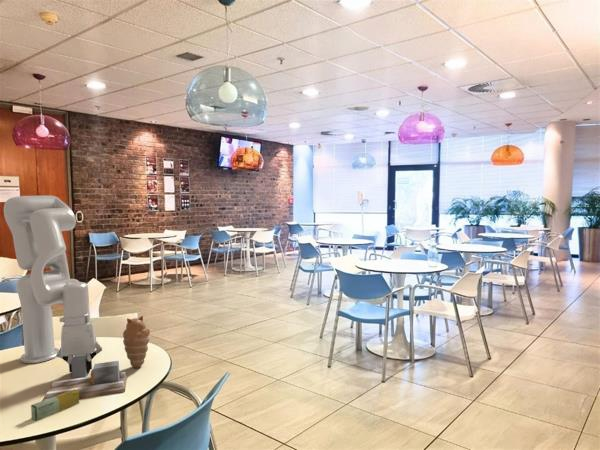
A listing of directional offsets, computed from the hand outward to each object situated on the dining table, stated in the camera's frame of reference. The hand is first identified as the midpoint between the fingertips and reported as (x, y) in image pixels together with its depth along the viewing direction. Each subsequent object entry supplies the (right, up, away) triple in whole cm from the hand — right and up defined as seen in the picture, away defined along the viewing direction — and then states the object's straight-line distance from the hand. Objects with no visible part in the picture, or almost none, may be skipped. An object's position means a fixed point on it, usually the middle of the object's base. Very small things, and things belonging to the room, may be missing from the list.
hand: (81, 372), depth 144 cm
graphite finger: (0, -1, 0) cm, 1 cm away
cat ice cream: (+17, 0, +5) cm, 18 cm away
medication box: (+5, -3, -24) cm, 24 cm away
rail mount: (+8, -1, -11) cm, 13 cm away
